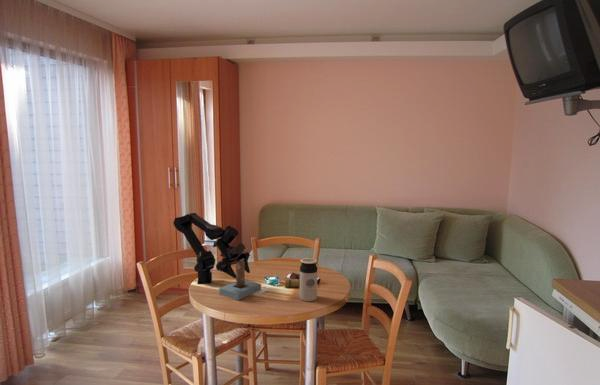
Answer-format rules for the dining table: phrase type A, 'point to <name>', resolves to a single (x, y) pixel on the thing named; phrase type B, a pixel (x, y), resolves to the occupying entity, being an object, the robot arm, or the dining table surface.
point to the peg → (240, 274)
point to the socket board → (239, 290)
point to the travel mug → (308, 279)
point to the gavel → (292, 281)
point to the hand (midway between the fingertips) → (242, 275)
